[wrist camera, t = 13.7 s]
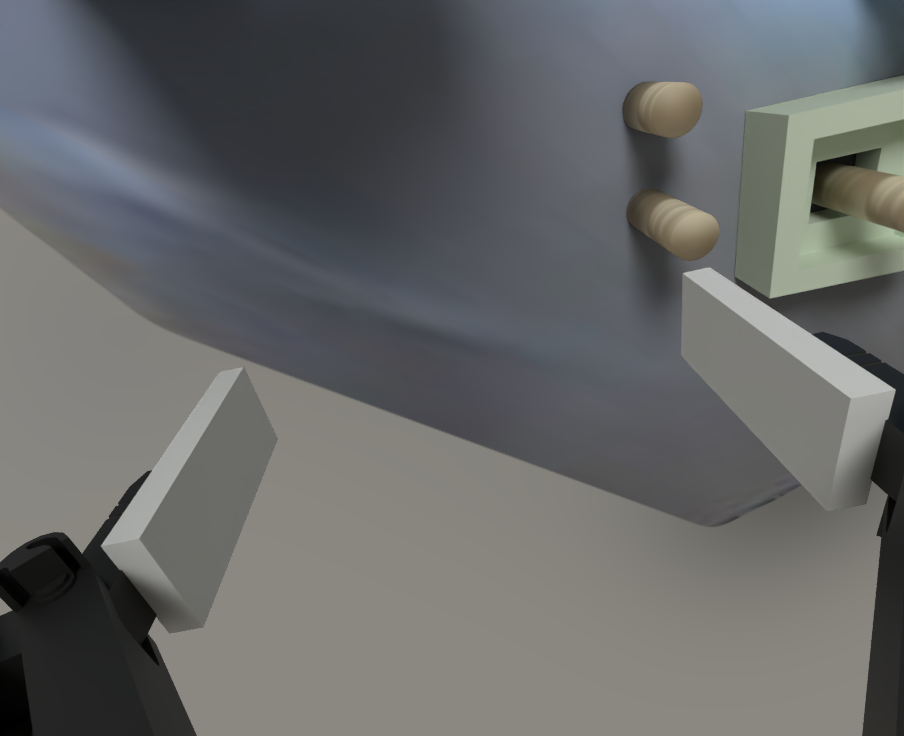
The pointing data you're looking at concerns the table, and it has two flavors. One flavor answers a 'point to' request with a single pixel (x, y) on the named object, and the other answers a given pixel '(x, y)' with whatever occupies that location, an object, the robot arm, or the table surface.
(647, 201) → the medium birch dowel
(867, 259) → the sage socket block
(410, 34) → the table surface
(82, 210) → the table surface
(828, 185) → the long birch dowel
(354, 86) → the table surface
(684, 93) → the short birch dowel
